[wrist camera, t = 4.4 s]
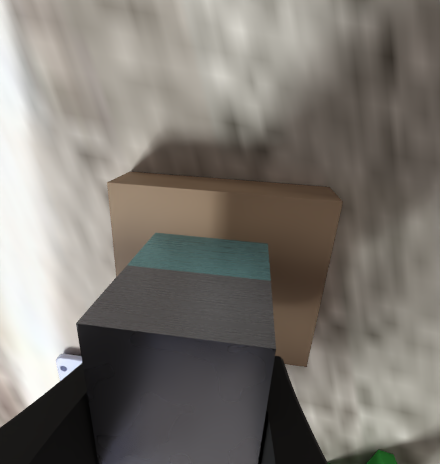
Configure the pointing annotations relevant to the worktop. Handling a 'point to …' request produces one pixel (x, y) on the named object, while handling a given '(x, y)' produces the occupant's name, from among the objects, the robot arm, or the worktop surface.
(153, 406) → the block
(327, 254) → the tan flat block
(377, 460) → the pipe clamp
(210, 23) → the worktop surface
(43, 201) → the worktop surface
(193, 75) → the worktop surface
